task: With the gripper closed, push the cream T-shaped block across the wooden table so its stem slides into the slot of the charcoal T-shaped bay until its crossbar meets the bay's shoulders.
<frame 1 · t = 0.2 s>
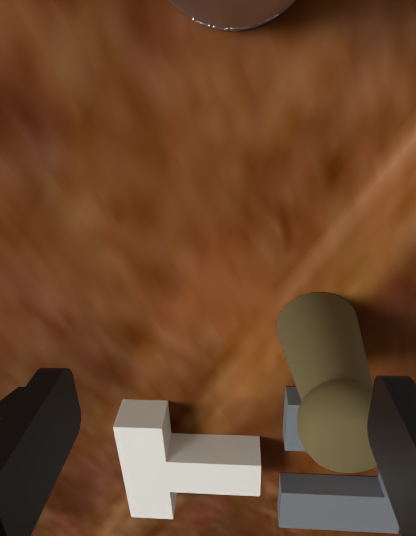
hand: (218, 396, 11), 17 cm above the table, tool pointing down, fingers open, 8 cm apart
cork: (316, 325, 30), on the table
t block: (194, 448, 37), on the table
t bay: (303, 453, 36), on the table
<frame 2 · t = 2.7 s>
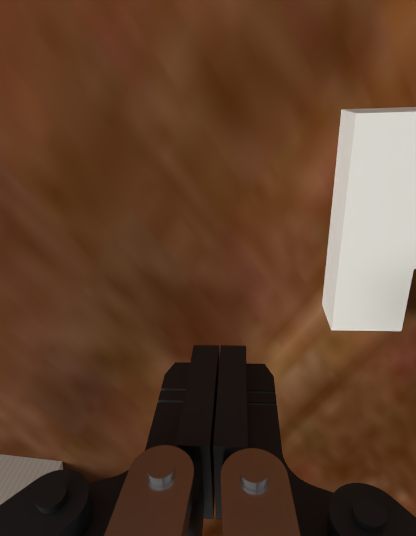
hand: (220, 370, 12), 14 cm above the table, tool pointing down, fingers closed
beige open box: (6, 469, 37), on the table
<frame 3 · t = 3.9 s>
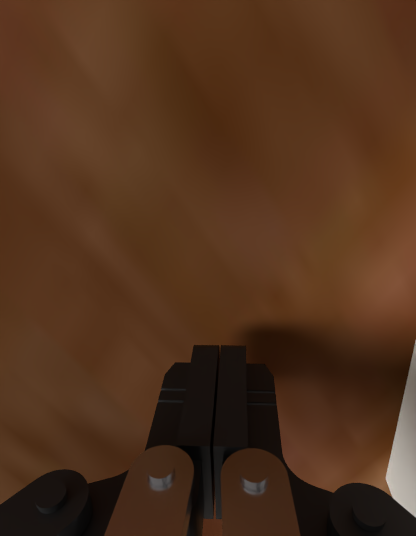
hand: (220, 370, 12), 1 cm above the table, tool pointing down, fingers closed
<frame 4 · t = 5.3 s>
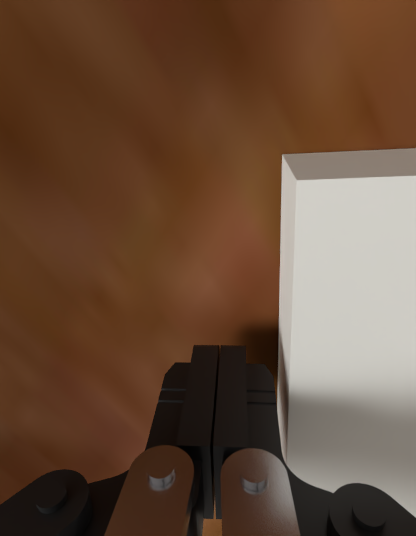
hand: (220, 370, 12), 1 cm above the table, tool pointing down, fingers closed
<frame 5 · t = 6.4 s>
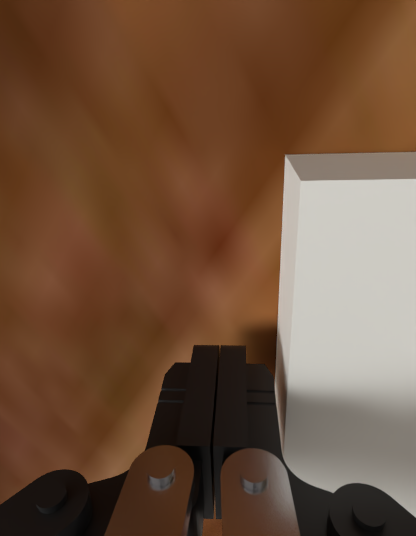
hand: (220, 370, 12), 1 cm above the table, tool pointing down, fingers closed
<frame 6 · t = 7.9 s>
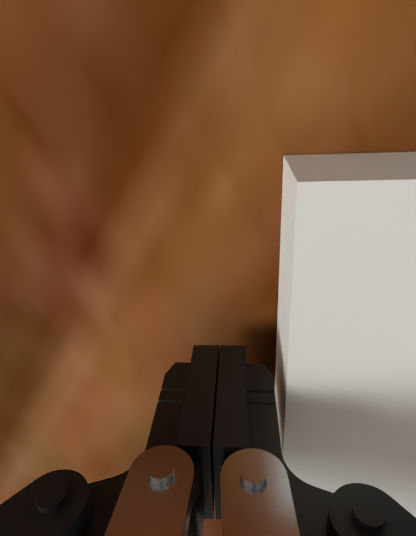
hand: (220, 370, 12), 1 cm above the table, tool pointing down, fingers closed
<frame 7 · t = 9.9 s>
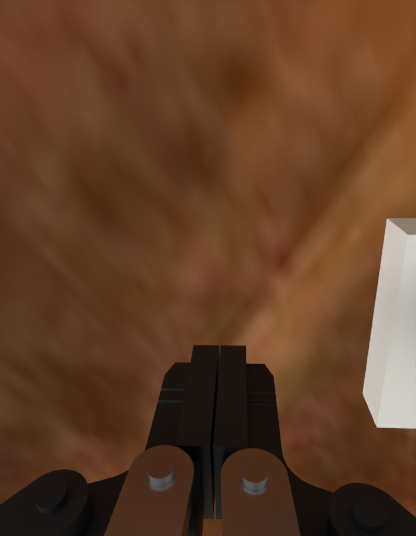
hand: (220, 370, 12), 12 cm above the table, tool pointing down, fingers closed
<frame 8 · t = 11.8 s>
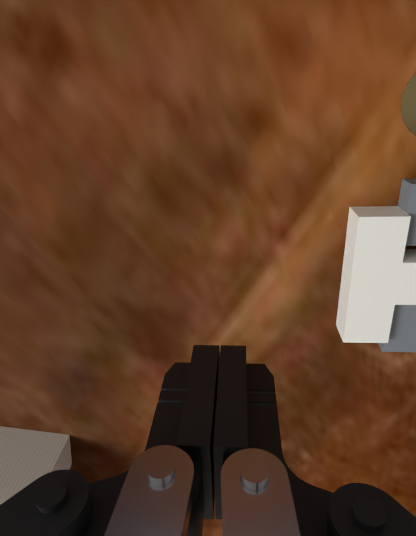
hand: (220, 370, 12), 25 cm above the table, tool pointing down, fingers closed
beige open box: (28, 441, 51), on the table
t block: (409, 269, 36), on the table
t bay: (410, 266, 36), on the table
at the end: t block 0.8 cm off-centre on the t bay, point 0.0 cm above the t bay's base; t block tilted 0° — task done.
